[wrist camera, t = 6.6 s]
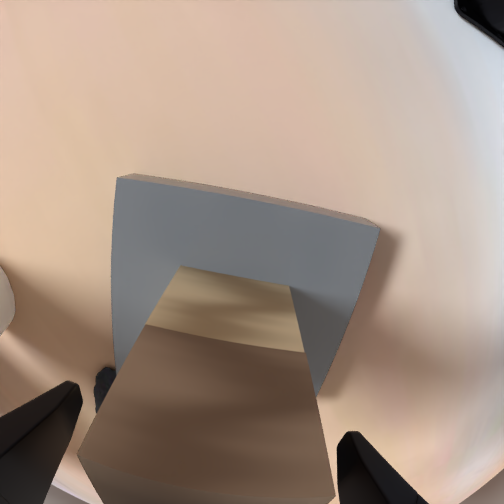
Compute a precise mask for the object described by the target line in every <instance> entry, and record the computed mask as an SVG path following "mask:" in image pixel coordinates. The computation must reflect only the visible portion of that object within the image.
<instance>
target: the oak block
mask: <svg viewBox="0 0 504 504" xmlns="http://www.w3.org/2000/svg"><path fill="white" fill-rule="evenodd" d="M145 324H148V325H152V326H156V327H160V328H165V329H169V330H174V331H178V332H183V333H188V334H193V335H198V336H203V337H208V338H213V339H218V340H224V341H229V342H235V343H241V344H247V345H254V346H260V347H267V348H274V349H281V350H289V351H296V352H304V348H303V343H302V339H301V334H300V330H299V326H298V321H297V317H296V313H295V309H294V304H293V300H292V296H291V292H290V288H289V286H287V285H282V284H276V283H270V282H265V281H259V280H254V279H249V278H243V277H238V276H232V275H227V274H222V273H217V272H212V271H206V270H201V269H196V268H191V267H186V266H181V265H180V267H179V269H178V270H177V272H176V273H175V275H174V277H173V278H172V280H171V282H170V283H169V285H168V286H167V288H166V290H165V291H164V293H163V295H162V296H161V298H160V300H159V301H158V303H157V305H156V306H155V308H154V310H153V311H152V313H151V315H150V317H149V318H148V320H147V322H146V323H145Z"/></svg>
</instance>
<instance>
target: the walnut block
mask: <svg viewBox="0 0 504 504" xmlns="http://www.w3.org/2000/svg"><path fill="white" fill-rule="evenodd" d="M77 456H78V458H79V460H80V462H81V464H82V466H83V468H84V470H85V472H86V474H87V476H88V478H89V479H90V481H91V483H92V485H93V487H94V488H95V490H96V492H97V493H98V495H99V497H100V498H101V500H102V502H103V503H104V504H328V503H329V502H330V501H331V500H332V499H333V498H334V497H335V496H336V495H335V490H334V484H333V479H332V474H331V468H330V463H329V458H328V453H327V448H326V443H325V438H324V433H323V429H322V424H321V419H320V414H319V410H318V405H317V400H316V396H315V391H314V387H313V382H312V377H311V373H310V369H309V364H308V360H307V355H306V353H305V352H296V351H289V350H281V349H274V348H267V347H260V346H254V345H247V344H241V343H235V342H229V341H224V340H218V339H213V338H208V337H203V336H198V335H193V334H188V333H183V332H178V331H174V330H169V329H165V328H160V327H156V326H152V325H148V324H145V326H144V328H143V329H142V331H141V333H140V335H139V336H138V338H137V340H136V342H135V344H134V345H133V347H132V349H131V351H130V352H129V354H128V356H127V358H126V360H125V361H124V363H123V365H122V367H121V369H120V371H119V372H118V374H117V376H116V378H115V380H114V382H113V384H112V385H111V387H110V389H109V391H108V393H107V395H106V397H105V399H104V401H103V403H102V404H101V406H100V408H99V410H98V412H97V414H96V416H95V418H94V420H93V422H92V424H91V426H90V428H89V430H88V432H87V434H86V436H85V438H84V440H83V442H82V445H81V447H80V449H79V451H78V453H77Z"/></svg>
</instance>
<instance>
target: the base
mask: <svg viewBox="0 0 504 504" xmlns="http://www.w3.org/2000/svg"><path fill="white" fill-rule="evenodd" d="M379 232H380V228H379V227H378V226H376V225H375V224H373V223H372V222H370V221H368V220H367V219H365V218H361V217H357V216H353V215H349V214H345V213H341V212H336V211H332V210H328V209H324V208H319V207H315V206H311V205H306V204H302V203H297V202H292V201H288V200H283V199H278V198H273V197H268V196H264V195H259V194H253V193H248V192H243V191H238V190H232V189H227V188H221V187H216V186H210V185H204V184H199V183H193V182H186V181H180V180H174V179H167V178H161V177H154V176H147V175H140V174H130V175H125V176H121V177H117V181H116V190H115V201H114V214H113V229H112V253H111V305H112V328H113V344H114V356H115V367H116V376H117V374H118V372H119V371H120V369H121V367H122V365H123V363H124V361H125V360H126V358H127V356H128V354H129V352H130V351H131V349H132V347H133V345H134V344H135V342H136V340H137V338H138V336H139V335H140V333H141V331H142V329H143V328H144V326H145V323H146V322H147V320H148V318H149V317H150V315H151V313H152V311H153V310H154V308H155V306H156V305H157V303H158V301H159V300H160V298H161V296H162V295H163V293H164V291H165V290H166V288H167V286H168V285H169V283H170V282H171V280H172V278H173V277H174V275H175V273H176V272H177V270H178V269H179V267H180V265H181V266H186V267H191V268H196V269H201V270H206V271H212V272H217V273H222V274H227V275H232V276H238V277H243V278H249V279H254V280H259V281H265V282H270V283H276V284H282V285H287V286H289V288H290V292H291V296H292V300H293V304H294V309H295V313H296V317H297V321H298V326H299V330H300V334H301V339H302V343H303V348H304V352H305V353H306V355H307V360H308V364H309V369H310V373H311V377H312V382H313V387H314V391H315V396H317V394H318V392H319V390H320V388H321V386H322V384H323V382H324V379H325V377H326V375H327V373H328V371H329V368H330V366H331V364H332V362H333V359H334V357H335V355H336V352H337V350H338V348H339V345H340V343H341V340H342V338H343V335H344V333H345V330H346V328H347V325H348V323H349V320H350V318H351V315H352V312H353V310H354V307H355V304H356V302H357V299H358V296H359V294H360V291H361V288H362V285H363V282H364V279H365V276H366V273H367V270H368V267H369V264H370V261H371V258H372V255H373V252H374V249H375V245H376V242H377V239H378V235H379Z"/></svg>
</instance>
